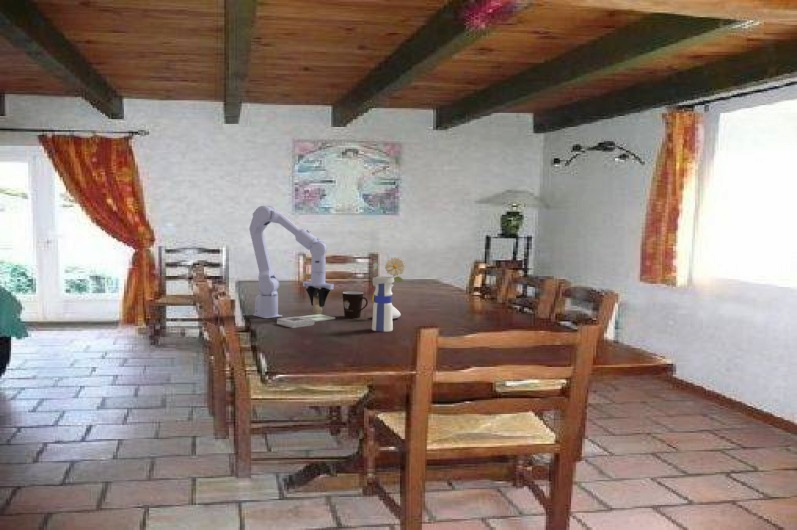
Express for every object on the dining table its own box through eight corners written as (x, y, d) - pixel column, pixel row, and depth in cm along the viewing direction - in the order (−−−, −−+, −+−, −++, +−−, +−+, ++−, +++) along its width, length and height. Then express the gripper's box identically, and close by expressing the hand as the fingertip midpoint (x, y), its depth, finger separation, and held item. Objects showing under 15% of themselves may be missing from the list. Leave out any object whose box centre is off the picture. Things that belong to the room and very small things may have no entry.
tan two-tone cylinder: (311, 313, 254) (311, 296, 254) (316, 312, 258) (316, 295, 257) (318, 314, 253) (318, 296, 252) (323, 313, 256) (324, 295, 255)
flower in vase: (368, 319, 256) (370, 257, 254) (377, 315, 267) (379, 255, 265) (399, 322, 252) (401, 258, 250) (407, 317, 263) (409, 257, 261)
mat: (299, 318, 255) (299, 316, 255) (319, 315, 263) (319, 314, 262) (315, 321, 248) (315, 319, 248) (335, 318, 255) (335, 317, 255)
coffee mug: (338, 315, 263) (339, 291, 262) (358, 315, 267) (358, 291, 266) (348, 320, 253) (349, 295, 252) (369, 319, 256) (369, 294, 255)
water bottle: (367, 330, 232) (369, 262, 230) (374, 326, 240) (375, 260, 238) (389, 332, 230) (391, 263, 228) (395, 328, 238) (397, 261, 236)
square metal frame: (276, 324, 241) (276, 318, 240) (298, 321, 248) (298, 316, 248) (292, 327, 234) (292, 322, 233) (314, 325, 241) (314, 319, 240)
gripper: (297, 271, 255) (297, 305, 256) (325, 274, 247) (325, 309, 248) (309, 270, 261) (309, 303, 262) (337, 272, 252) (336, 307, 254)
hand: (317, 306), depth 255 cm, fingers closed on tan two-tone cylinder, 4 cm apart
